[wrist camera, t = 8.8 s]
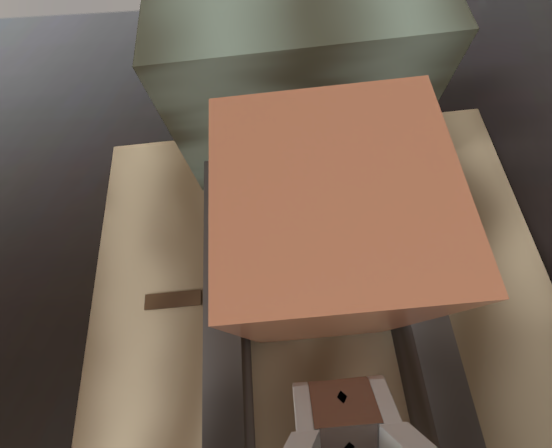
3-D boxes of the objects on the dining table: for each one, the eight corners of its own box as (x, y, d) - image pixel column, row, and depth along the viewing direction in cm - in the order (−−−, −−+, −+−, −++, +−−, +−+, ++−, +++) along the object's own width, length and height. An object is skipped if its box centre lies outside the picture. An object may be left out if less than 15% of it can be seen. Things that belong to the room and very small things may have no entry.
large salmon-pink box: (260, 343, 16) (208, 326, 6) (253, 230, 18) (208, 98, 9) (381, 332, 15) (509, 299, 6) (359, 220, 18) (427, 75, 9)
